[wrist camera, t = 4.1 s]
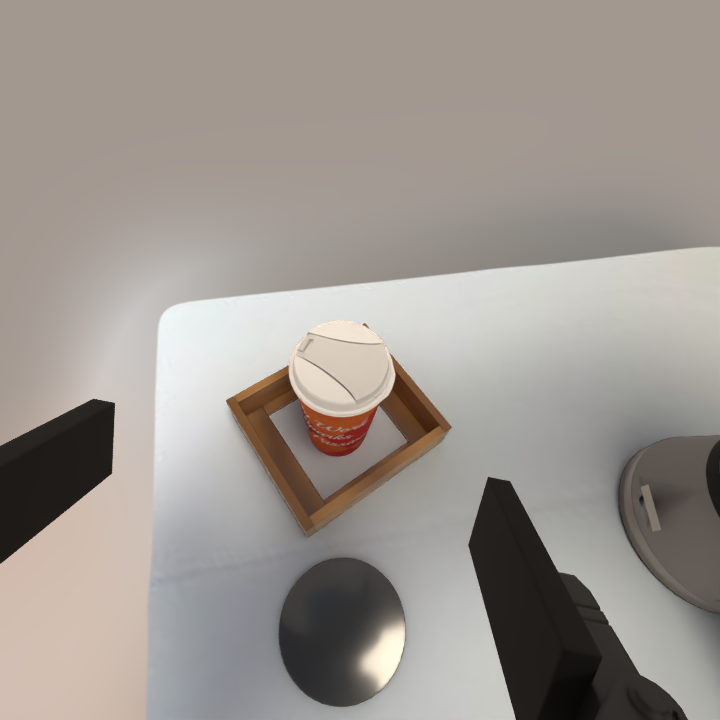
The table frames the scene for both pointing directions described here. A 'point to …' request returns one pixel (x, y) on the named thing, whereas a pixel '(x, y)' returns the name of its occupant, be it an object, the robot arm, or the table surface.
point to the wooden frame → (288, 476)
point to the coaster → (342, 632)
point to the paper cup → (340, 383)
